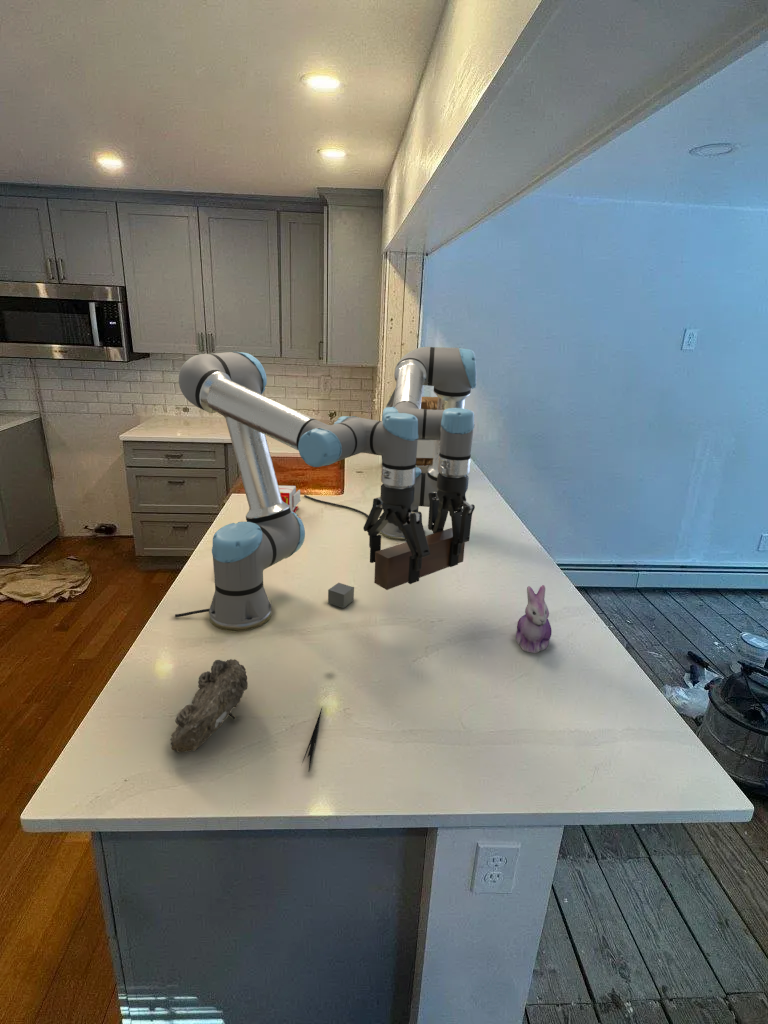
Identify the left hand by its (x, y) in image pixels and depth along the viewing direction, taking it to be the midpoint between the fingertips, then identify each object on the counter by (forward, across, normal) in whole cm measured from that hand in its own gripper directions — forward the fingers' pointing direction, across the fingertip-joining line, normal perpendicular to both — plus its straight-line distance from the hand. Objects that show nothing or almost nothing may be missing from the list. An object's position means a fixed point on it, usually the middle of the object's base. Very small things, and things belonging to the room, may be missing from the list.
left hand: (393, 571), depth 132 cm
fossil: (+17, +2, -46) cm, 49 cm away
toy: (+17, -84, +20) cm, 88 cm away
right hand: (+2, 0, +18) cm, 18 cm away
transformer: (+17, -100, +106) cm, 147 cm away
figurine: (+17, +24, +25) cm, 39 cm away
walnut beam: (+3, 0, +9) cm, 10 cm away
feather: (+17, +15, -31) cm, 38 cm away
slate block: (+17, -20, 0) cm, 26 cm away
